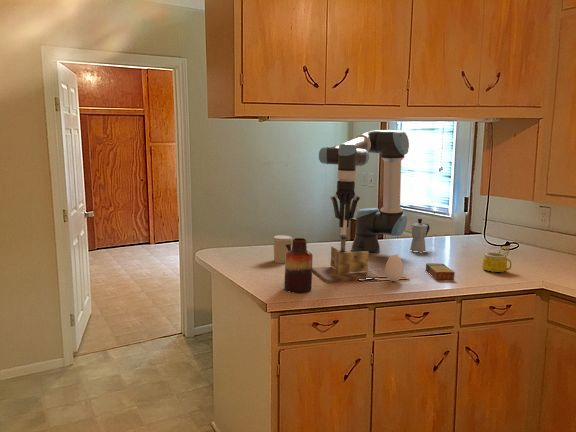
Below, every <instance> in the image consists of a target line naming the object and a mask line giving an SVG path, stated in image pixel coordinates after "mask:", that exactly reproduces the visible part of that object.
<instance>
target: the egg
mask: <svg viewBox="0 0 576 432" xmlns="http://www.w3.org/2000/svg"><path fill="white" fill-rule="evenodd" d="M402 261H403V260H402V259H401V257H400V256H399V255H397V254H393V255H391V256H390V257H389V258H388V259H387V261H386V264H385V268H384V269H385V270H384V271H385V276H386V277H387V279H388V281H390V282H392V281H396V282H398V281H399V280H400V279H401V278H402V276H403V273H404V264H403V262H402Z"/></svg>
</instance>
